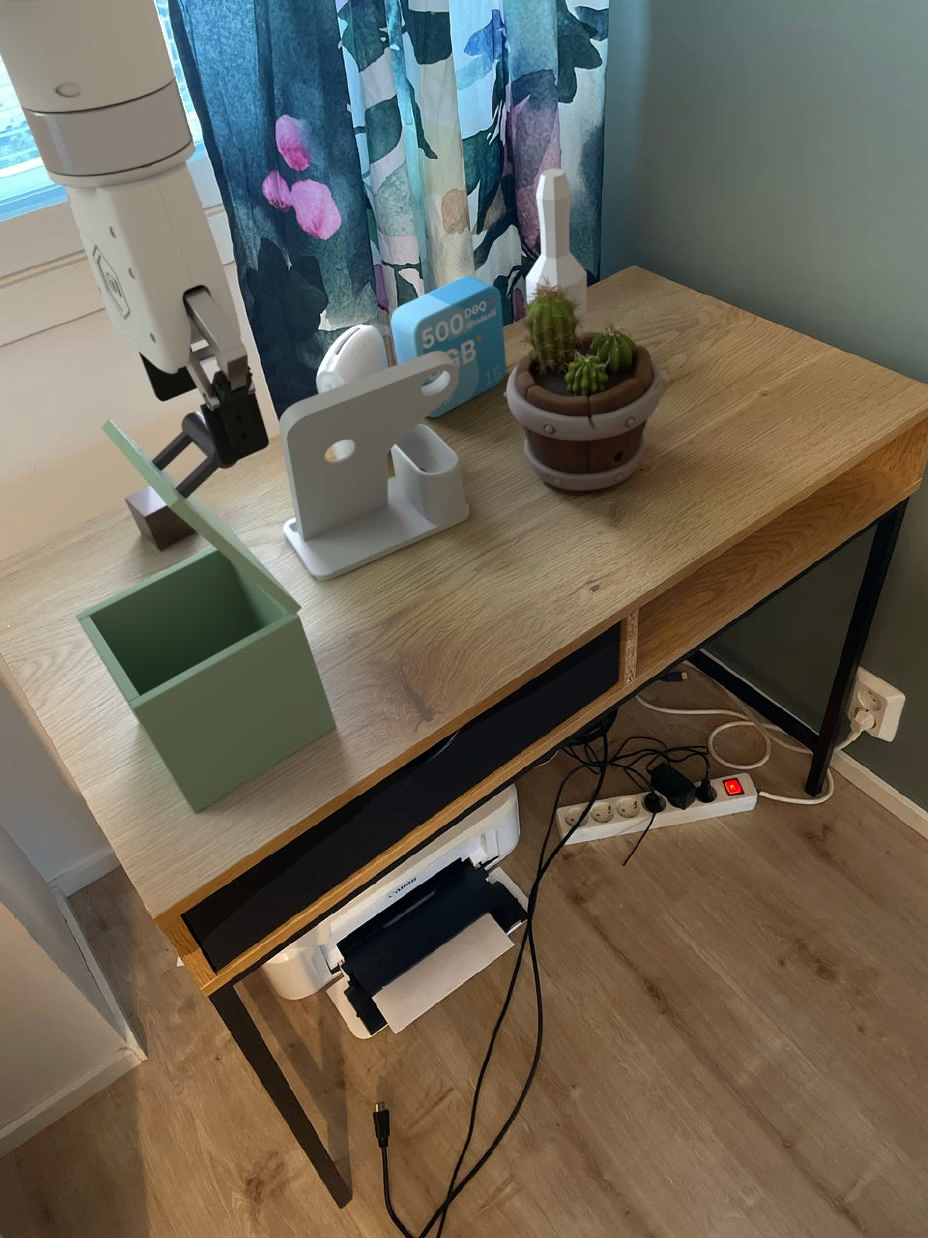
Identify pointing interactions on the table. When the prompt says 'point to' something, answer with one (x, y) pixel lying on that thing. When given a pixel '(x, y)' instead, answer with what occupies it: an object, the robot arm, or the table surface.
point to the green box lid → (189, 505)
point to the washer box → (211, 673)
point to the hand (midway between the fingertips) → (211, 421)
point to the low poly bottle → (557, 245)
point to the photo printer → (351, 365)
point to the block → (157, 519)
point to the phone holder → (371, 467)
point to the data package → (455, 335)
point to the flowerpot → (581, 398)
